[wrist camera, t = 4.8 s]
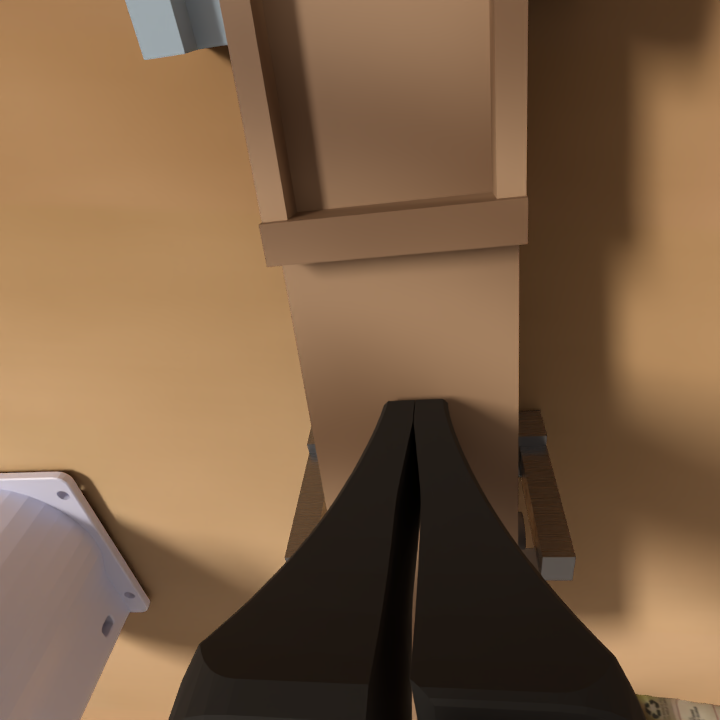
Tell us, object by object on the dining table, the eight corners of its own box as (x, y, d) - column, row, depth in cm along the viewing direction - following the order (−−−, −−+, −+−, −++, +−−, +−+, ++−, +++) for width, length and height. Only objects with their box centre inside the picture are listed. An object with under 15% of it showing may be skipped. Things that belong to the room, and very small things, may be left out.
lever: (533, 663, 20) (556, 786, 16) (351, 658, 21) (335, 773, 17) (549, -79, 11) (610, -168, 7) (225, -20, 12) (135, -75, 8)
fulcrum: (537, 450, 19) (570, 589, 14) (322, 456, 20) (295, 587, 16) (539, 410, 18) (576, 547, 13) (313, 419, 19) (281, 548, 15)
